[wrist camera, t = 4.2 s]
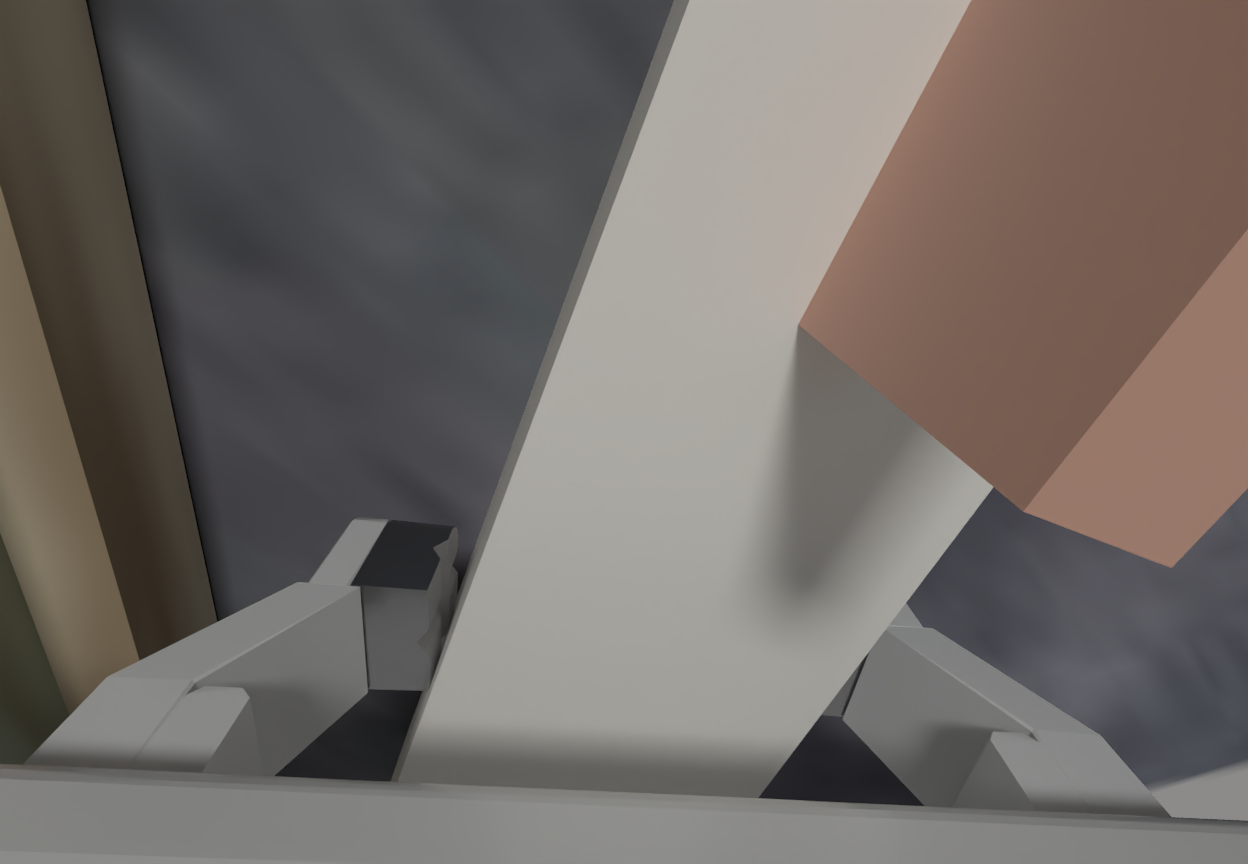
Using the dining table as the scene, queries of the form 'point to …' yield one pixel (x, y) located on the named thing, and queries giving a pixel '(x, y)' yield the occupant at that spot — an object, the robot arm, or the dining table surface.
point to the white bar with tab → (849, 367)
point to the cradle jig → (78, 398)
